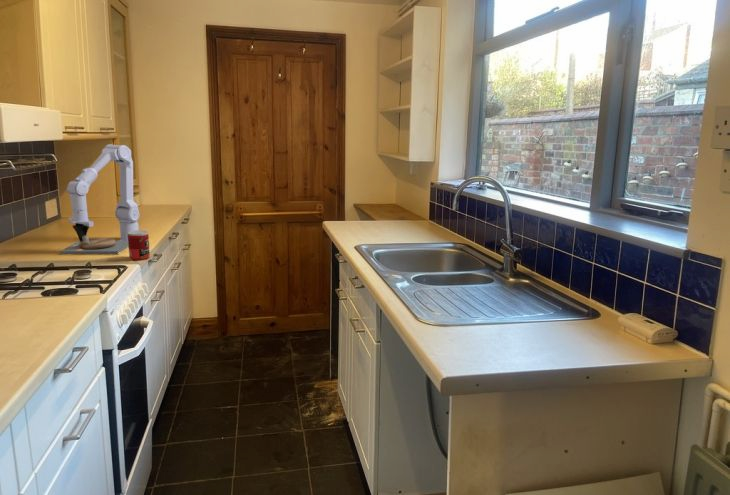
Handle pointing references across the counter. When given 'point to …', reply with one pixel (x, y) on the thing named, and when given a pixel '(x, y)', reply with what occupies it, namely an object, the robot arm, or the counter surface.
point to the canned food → (138, 245)
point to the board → (110, 250)
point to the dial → (96, 243)
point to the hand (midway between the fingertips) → (82, 241)
